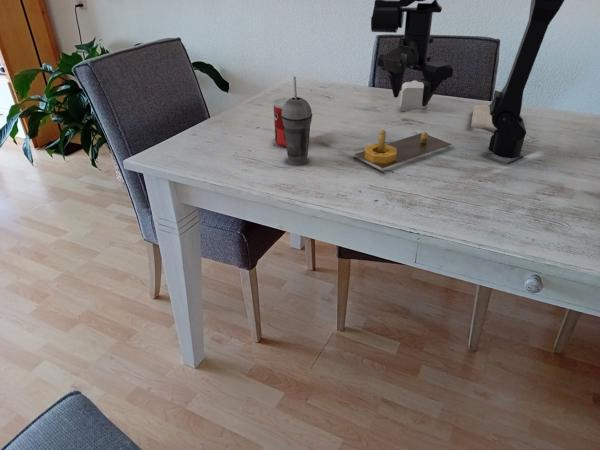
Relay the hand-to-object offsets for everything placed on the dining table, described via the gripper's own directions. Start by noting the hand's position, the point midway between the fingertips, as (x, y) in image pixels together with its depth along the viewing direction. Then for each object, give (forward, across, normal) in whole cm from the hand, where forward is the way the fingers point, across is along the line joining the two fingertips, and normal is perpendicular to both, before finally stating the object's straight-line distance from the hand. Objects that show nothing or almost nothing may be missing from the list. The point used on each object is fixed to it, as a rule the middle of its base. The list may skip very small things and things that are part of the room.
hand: (409, 101), depth 111 cm
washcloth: (+12, +4, +33) cm, 35 cm away
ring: (+11, +3, -11) cm, 16 cm away
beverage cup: (+12, -10, -27) cm, 31 cm away
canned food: (+12, -20, -22) cm, 32 cm away
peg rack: (+12, +3, -3) cm, 13 cm away
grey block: (+12, -21, +25) cm, 35 cm away
